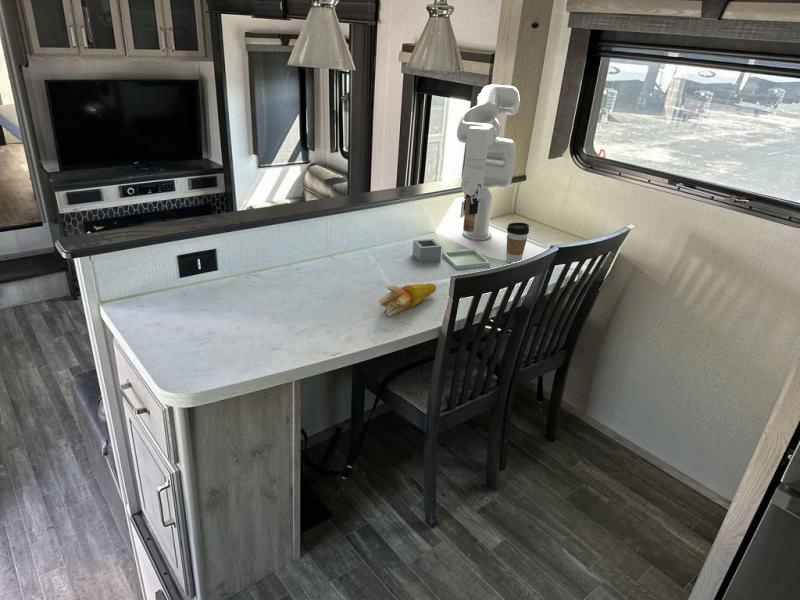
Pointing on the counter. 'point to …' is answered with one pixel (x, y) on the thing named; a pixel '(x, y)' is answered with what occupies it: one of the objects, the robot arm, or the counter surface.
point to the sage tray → (465, 259)
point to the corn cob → (405, 297)
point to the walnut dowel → (468, 218)
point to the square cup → (426, 250)
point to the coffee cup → (516, 241)
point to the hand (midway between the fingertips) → (470, 211)
